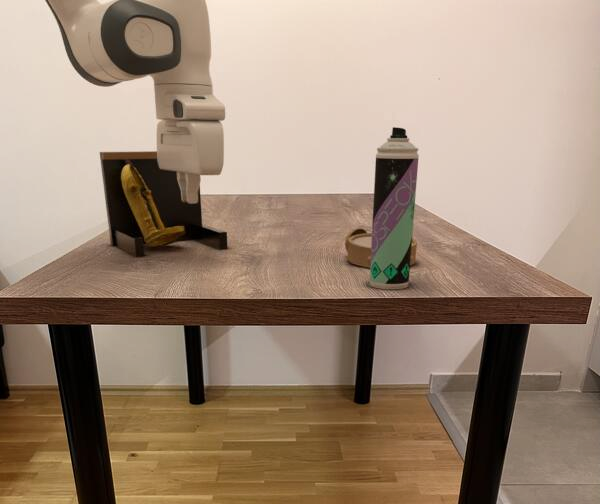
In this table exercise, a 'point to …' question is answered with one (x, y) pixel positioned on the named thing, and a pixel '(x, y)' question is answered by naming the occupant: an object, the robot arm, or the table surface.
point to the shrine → (146, 210)
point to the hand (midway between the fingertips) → (189, 202)
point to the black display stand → (164, 197)
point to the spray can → (393, 211)
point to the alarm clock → (366, 248)
